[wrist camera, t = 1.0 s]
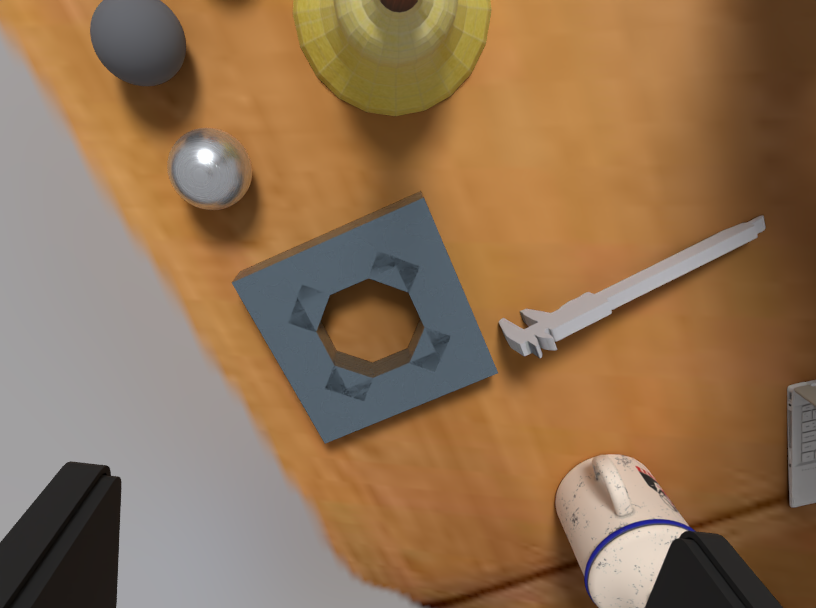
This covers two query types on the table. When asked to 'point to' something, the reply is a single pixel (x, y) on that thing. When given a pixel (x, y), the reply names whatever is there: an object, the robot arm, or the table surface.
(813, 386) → the laptop
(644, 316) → the table surface
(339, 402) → the housing plate
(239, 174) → the steel ball
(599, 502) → the teacup with lid
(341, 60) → the handbell
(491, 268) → the table surface
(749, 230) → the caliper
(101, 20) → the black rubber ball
